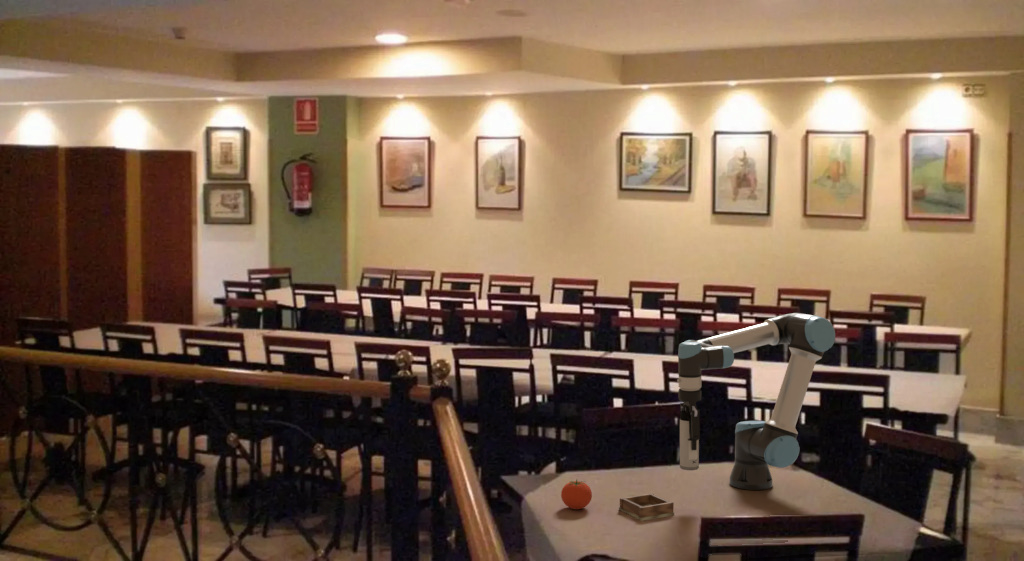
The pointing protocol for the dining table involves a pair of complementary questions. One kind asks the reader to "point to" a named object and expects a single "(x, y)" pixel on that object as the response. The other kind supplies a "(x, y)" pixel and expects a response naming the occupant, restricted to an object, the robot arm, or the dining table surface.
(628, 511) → the walnut caddy
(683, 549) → the dining table surface
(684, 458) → the travel mug
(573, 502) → the tomato
